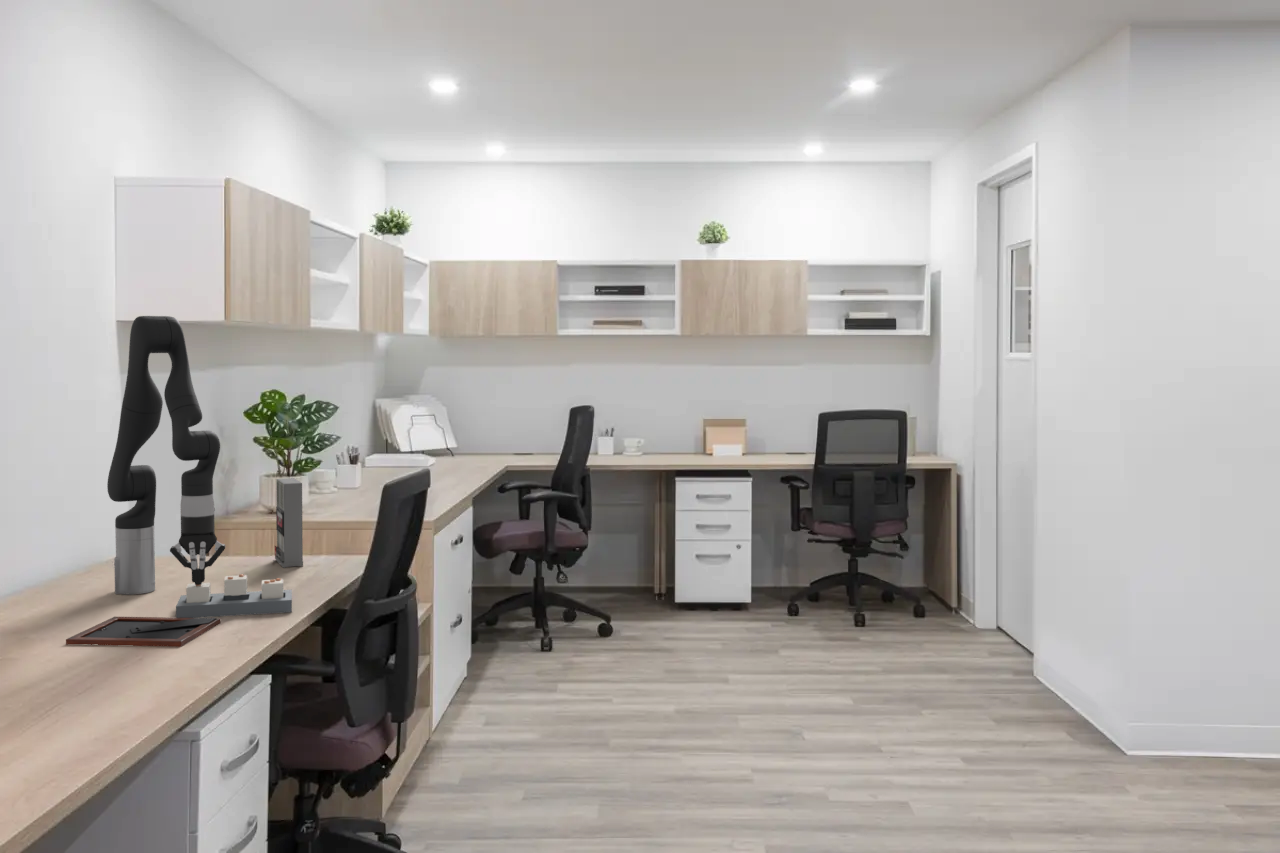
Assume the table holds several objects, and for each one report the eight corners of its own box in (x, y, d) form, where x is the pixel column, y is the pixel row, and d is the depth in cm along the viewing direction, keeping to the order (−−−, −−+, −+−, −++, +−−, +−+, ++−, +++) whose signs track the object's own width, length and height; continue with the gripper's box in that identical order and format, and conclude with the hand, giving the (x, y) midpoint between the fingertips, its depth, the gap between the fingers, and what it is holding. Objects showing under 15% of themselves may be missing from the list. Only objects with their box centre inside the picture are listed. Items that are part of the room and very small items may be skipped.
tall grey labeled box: (274, 559, 320) (273, 478, 318) (294, 558, 323) (294, 478, 321) (281, 568, 308) (281, 483, 306) (303, 566, 310) (302, 483, 309)
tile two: (224, 597, 253) (224, 578, 253) (225, 593, 258) (225, 574, 257) (246, 596, 255) (246, 577, 254) (247, 592, 259) (247, 573, 259)
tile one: (186, 605, 250) (186, 586, 250) (188, 601, 255) (188, 582, 255) (208, 604, 252) (208, 585, 252) (210, 599, 257) (210, 581, 256)
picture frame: (220, 625, 243) (114, 623, 244) (220, 617, 243) (114, 615, 244) (181, 649, 223) (66, 647, 224) (181, 640, 223) (65, 638, 224)
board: (176, 618, 247) (175, 606, 246) (181, 607, 258) (181, 595, 258) (291, 612, 255) (291, 599, 255) (291, 601, 266) (291, 589, 266)
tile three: (261, 601, 256) (261, 582, 255) (262, 597, 260) (262, 578, 260) (283, 600, 257) (283, 581, 257) (283, 595, 262) (283, 577, 262)
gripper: (165, 516, 246) (167, 588, 247) (225, 514, 251) (226, 585, 252) (169, 512, 253) (170, 582, 254) (227, 510, 258) (228, 579, 259)
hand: (198, 583), depth 253 cm, fingers closed
